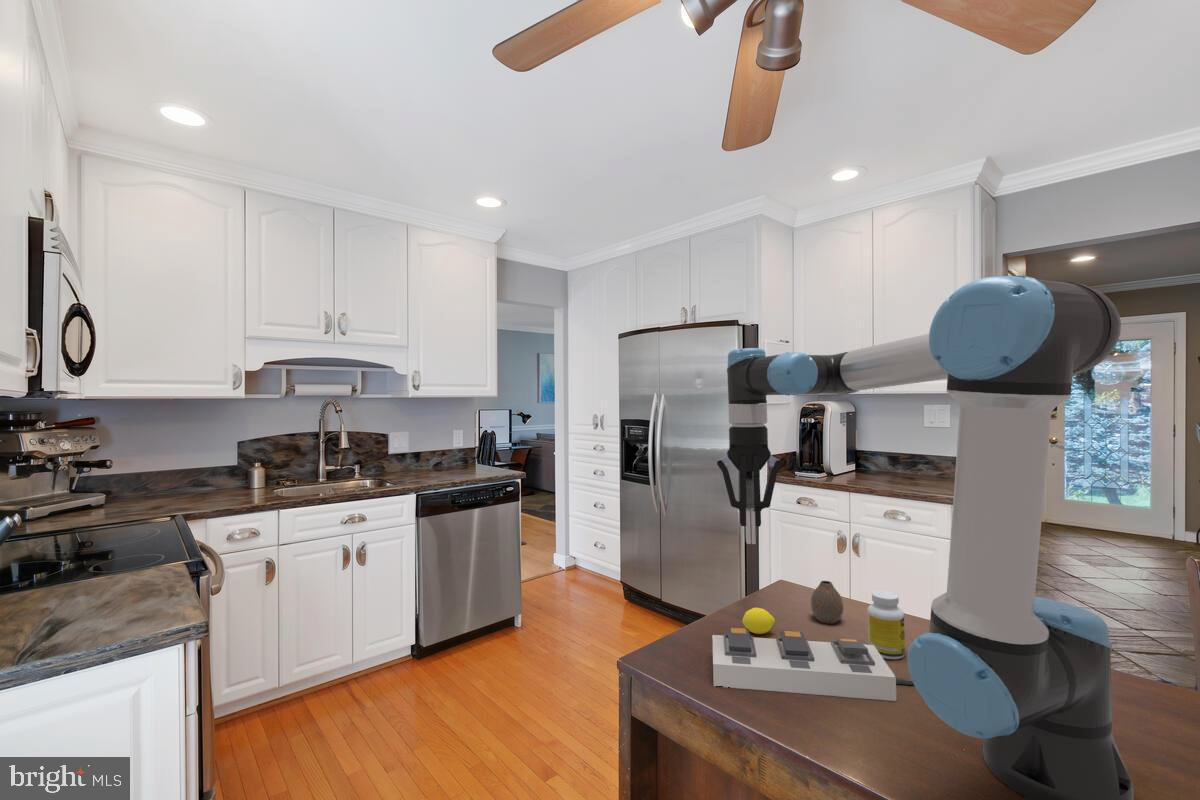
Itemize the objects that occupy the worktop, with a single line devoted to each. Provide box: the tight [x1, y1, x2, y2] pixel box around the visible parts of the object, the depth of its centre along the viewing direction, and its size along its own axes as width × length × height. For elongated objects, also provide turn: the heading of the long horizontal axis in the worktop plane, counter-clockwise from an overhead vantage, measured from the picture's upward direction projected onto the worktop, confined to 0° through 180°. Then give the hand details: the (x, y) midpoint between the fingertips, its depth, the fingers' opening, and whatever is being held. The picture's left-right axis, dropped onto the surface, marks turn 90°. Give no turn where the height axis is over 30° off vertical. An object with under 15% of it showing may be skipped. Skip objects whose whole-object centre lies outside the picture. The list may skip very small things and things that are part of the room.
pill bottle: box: [867, 590, 906, 660], centre depth 106 cm, size 6×6×12 cm
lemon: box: [741, 607, 776, 635], centre depth 116 cm, size 7×5×5 cm
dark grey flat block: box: [780, 630, 809, 656], centre depth 99 cm, size 6×4×1 cm, turn 169°
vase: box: [810, 580, 844, 625], centre depth 122 cm, size 7×7×9 cm
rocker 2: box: [835, 638, 868, 655], centre depth 97 cm, size 6×4×1 cm, turn 168°
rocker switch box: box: [711, 633, 915, 702], centre depth 97 cm, size 12×40×5 cm, turn 79°
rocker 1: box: [727, 626, 751, 653], centre depth 101 cm, size 6×4×1 cm, turn 169°
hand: (750, 542), depth 107 cm, fingers closed
